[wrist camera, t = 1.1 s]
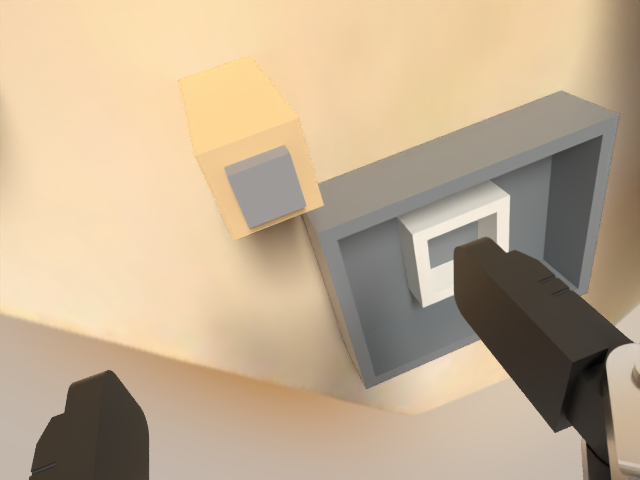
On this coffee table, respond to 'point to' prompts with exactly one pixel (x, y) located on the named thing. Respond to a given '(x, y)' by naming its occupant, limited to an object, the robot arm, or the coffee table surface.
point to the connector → (249, 147)
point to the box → (458, 225)
